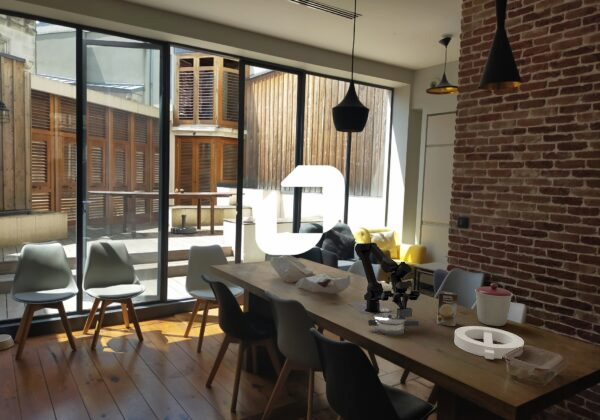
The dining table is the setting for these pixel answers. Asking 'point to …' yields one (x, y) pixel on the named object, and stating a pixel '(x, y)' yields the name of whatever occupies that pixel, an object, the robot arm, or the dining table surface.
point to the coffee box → (447, 308)
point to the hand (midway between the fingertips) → (404, 310)
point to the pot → (391, 327)
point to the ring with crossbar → (486, 341)
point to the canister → (493, 305)
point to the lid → (394, 316)
